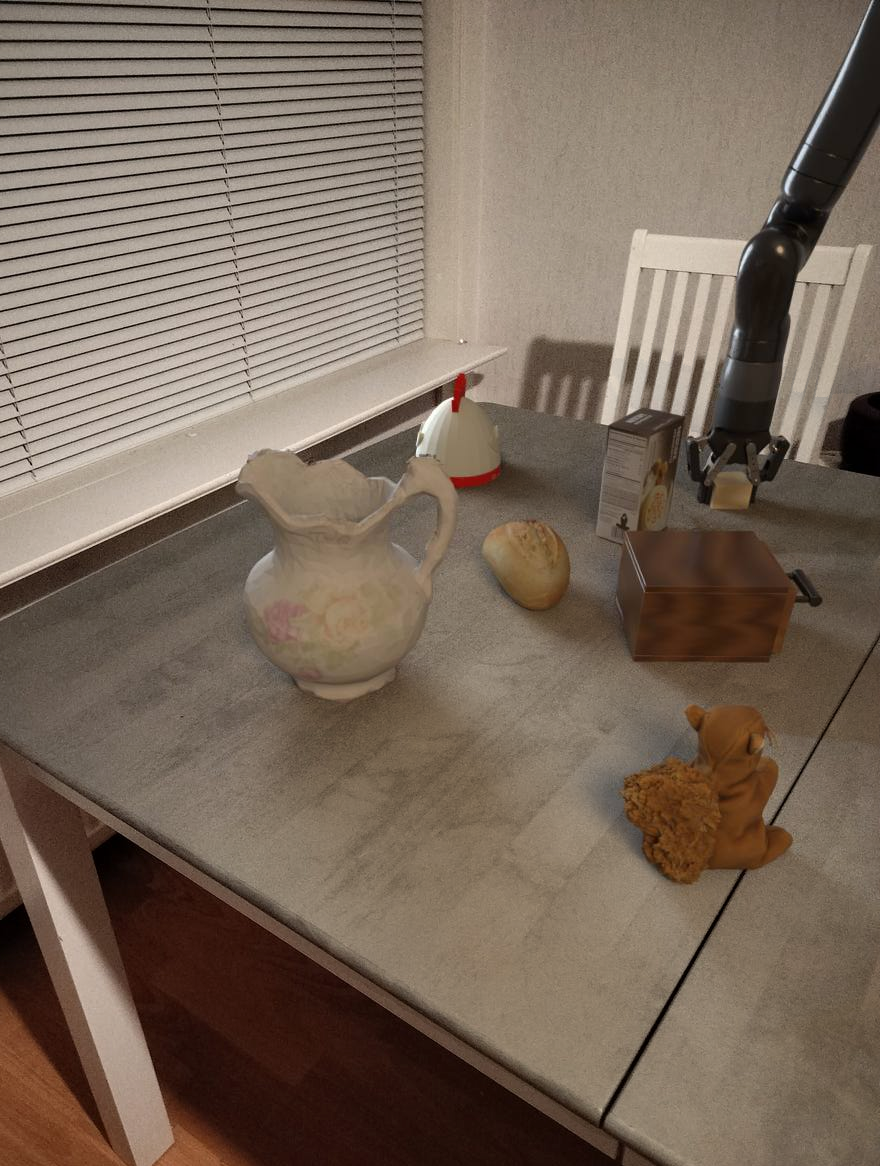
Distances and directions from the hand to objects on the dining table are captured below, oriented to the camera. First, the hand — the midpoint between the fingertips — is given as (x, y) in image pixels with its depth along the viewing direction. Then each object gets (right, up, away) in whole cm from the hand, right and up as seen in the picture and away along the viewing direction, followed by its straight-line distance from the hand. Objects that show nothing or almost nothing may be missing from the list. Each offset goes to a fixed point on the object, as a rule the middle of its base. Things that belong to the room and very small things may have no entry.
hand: (724, 506), depth 123 cm
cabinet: (-14, -18, -24) cm, 33 cm away
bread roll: (-31, -13, -15) cm, 37 cm away
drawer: (-10, -17, -25) cm, 32 cm away
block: (0, -1, 0) cm, 1 cm away
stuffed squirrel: (-22, -37, -51) cm, 67 cm away
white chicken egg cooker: (-37, +8, +16) cm, 41 cm away
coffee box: (-14, -4, -4) cm, 15 cm away
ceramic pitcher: (-52, -22, -29) cm, 63 cm away
